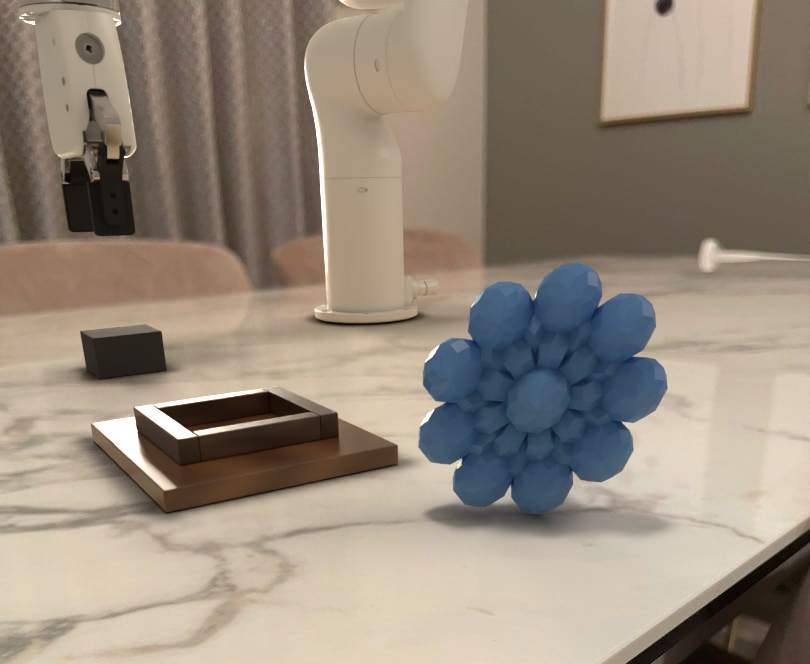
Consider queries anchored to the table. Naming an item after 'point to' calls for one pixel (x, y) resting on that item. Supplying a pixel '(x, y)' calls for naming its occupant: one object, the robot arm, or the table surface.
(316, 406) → the wooden socket base
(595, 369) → the blue flower ornament
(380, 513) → the table surface
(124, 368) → the dark grey block
